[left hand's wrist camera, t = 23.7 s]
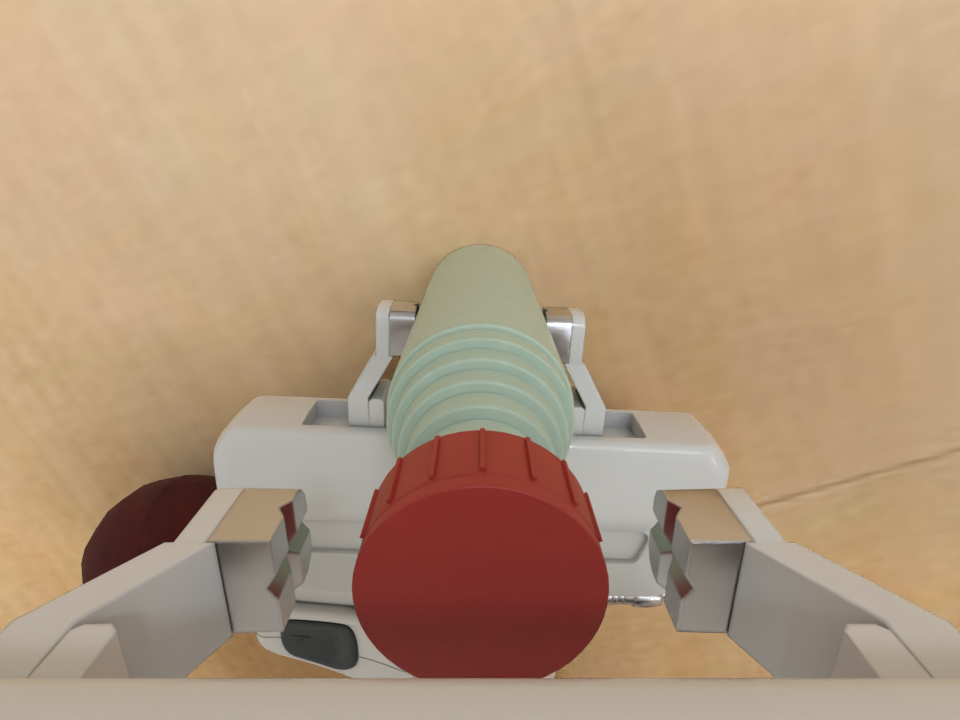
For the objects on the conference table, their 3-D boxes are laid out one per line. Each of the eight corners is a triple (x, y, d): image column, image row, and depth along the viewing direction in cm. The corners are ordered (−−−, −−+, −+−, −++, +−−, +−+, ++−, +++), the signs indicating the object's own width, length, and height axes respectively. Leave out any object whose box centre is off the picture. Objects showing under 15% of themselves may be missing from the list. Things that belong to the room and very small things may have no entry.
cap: (516, 385, 9) (524, 435, 8) (629, 552, 11) (656, 627, 9) (325, 496, 10) (295, 564, 8) (450, 640, 11) (444, 726, 10)
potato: (114, 515, 31) (14, 616, 24) (192, 419, 29) (106, 499, 22) (230, 588, 32) (165, 701, 26) (311, 502, 30) (263, 600, 24)
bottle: (409, 311, 27) (279, 601, 10) (463, 223, 25) (430, 375, 8) (494, 364, 28) (519, 714, 10) (552, 281, 26) (691, 529, 9)
